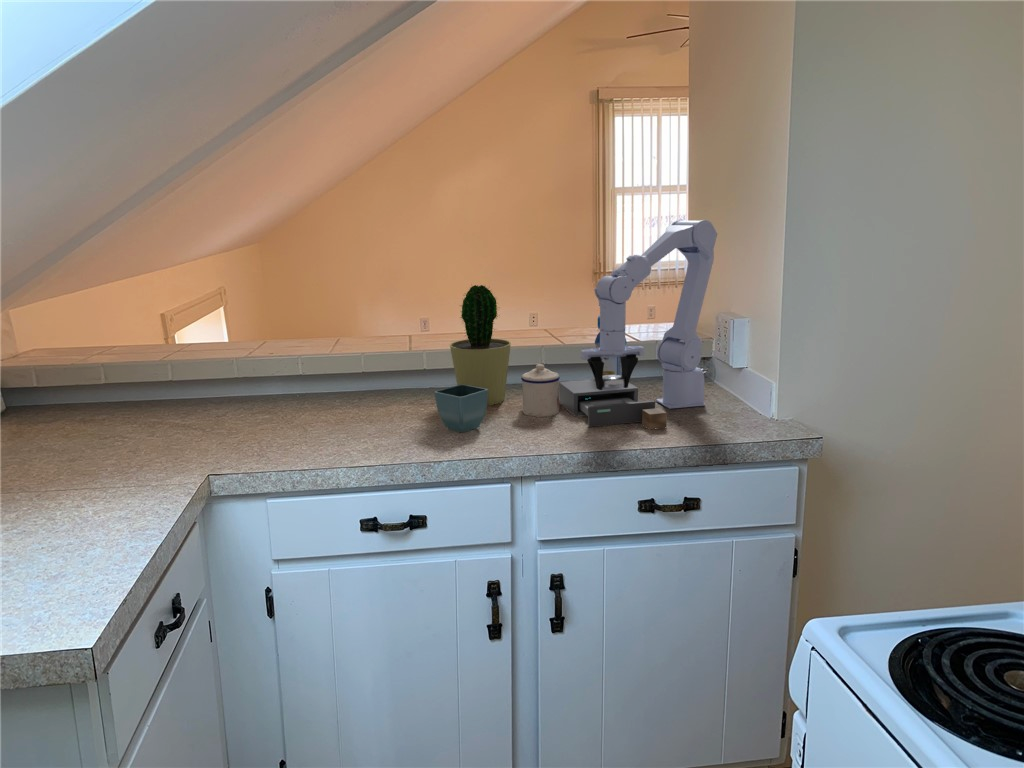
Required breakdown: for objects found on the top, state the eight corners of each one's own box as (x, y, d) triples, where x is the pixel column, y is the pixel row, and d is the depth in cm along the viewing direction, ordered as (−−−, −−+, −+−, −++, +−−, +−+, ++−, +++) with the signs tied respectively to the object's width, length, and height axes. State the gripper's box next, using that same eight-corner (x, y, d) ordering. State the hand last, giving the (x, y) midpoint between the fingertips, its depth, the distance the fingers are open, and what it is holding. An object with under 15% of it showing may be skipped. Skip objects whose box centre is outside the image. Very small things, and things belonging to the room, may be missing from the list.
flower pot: (434, 429, 166) (432, 391, 164) (463, 421, 172) (461, 383, 170) (461, 437, 160) (460, 397, 158) (490, 427, 166) (489, 389, 164)
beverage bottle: (631, 393, 193) (632, 317, 188) (601, 396, 190) (601, 319, 186) (618, 386, 200) (619, 312, 196) (589, 389, 198) (589, 315, 194)
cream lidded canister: (566, 414, 176) (566, 366, 173) (532, 419, 172) (531, 370, 169) (543, 402, 186) (542, 357, 183) (510, 407, 182) (509, 361, 180)
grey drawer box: (619, 397, 189) (619, 377, 188) (639, 410, 177) (639, 388, 176) (559, 402, 186) (559, 382, 185) (575, 416, 173) (575, 394, 172)
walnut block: (658, 423, 167) (659, 408, 166) (666, 428, 163) (666, 412, 162) (642, 424, 166) (642, 409, 165) (649, 429, 162) (649, 414, 161)
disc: (618, 381, 174) (618, 374, 174) (628, 386, 169) (628, 379, 168) (596, 383, 173) (596, 376, 172) (605, 389, 167) (605, 381, 167)
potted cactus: (448, 408, 183) (442, 286, 176) (455, 393, 198) (450, 280, 191) (511, 408, 182) (507, 285, 175) (513, 392, 197) (510, 279, 190)
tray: (634, 406, 179) (634, 389, 178) (655, 420, 168) (655, 401, 167) (572, 412, 176) (572, 394, 175) (589, 426, 164) (589, 407, 163)
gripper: (587, 334, 162) (587, 394, 166) (649, 330, 166) (648, 389, 169) (577, 329, 169) (577, 387, 172) (637, 325, 172) (636, 382, 175)
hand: (612, 388), depth 171 cm, fingers closed on disc, 6 cm apart
